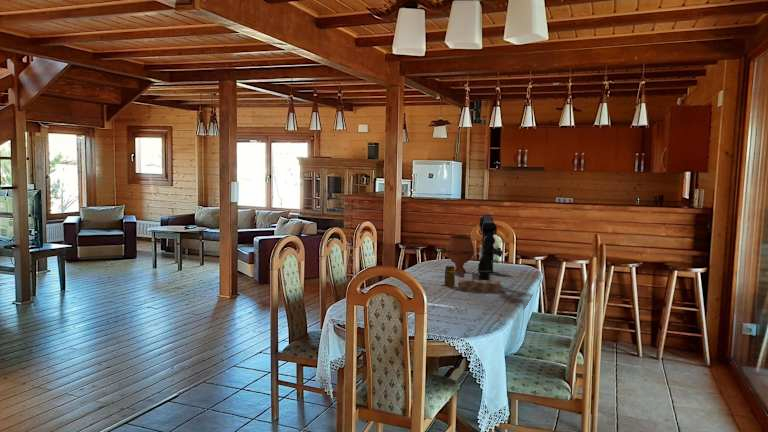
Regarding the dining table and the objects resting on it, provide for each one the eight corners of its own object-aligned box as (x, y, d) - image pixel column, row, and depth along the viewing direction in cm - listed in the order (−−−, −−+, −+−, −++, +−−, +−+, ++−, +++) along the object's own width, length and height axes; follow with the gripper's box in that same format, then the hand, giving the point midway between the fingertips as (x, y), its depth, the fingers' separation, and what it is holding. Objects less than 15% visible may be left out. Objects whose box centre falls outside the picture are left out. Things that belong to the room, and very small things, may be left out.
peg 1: (464, 282, 338) (464, 274, 338) (464, 280, 342) (464, 273, 342) (471, 282, 337) (471, 275, 337) (472, 281, 341) (472, 273, 341)
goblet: (452, 275, 384) (452, 238, 382) (441, 270, 403) (442, 234, 401) (478, 274, 389) (479, 237, 387) (466, 269, 408) (467, 234, 406)
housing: (458, 290, 337) (458, 281, 336) (459, 287, 345) (459, 278, 345) (499, 292, 332) (500, 283, 332) (499, 289, 341) (500, 281, 340)
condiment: (457, 286, 348) (458, 266, 347) (446, 287, 344) (447, 267, 343) (449, 284, 354) (450, 265, 353) (439, 285, 350) (439, 266, 349)
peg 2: (486, 290, 336) (486, 282, 335) (486, 288, 340) (486, 281, 340) (494, 290, 335) (494, 282, 334) (494, 289, 339) (494, 281, 339)
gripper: (502, 246, 325) (501, 273, 326) (502, 242, 343) (501, 268, 344) (482, 245, 327) (482, 272, 328) (483, 241, 345) (482, 267, 346)
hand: (487, 270), depth 337 cm, fingers closed
